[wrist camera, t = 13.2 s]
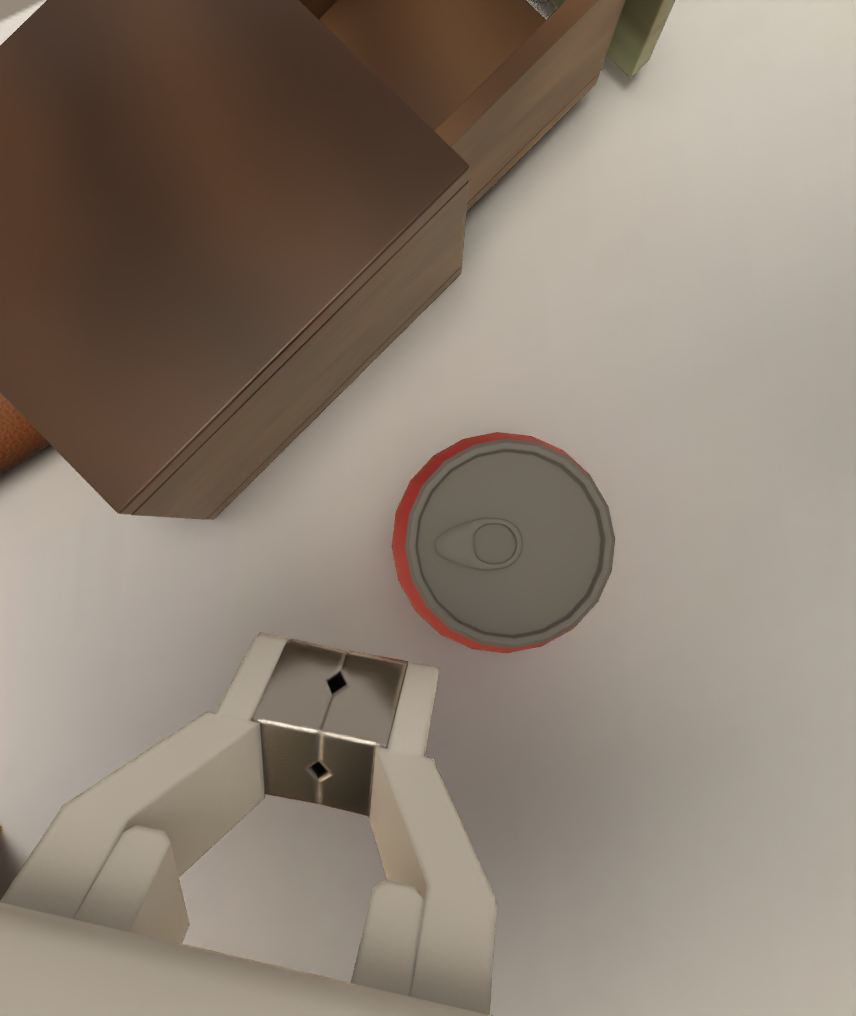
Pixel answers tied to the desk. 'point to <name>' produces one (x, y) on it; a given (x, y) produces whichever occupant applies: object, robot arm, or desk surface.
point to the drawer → (493, 64)
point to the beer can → (503, 542)
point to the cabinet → (204, 236)
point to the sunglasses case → (16, 437)
